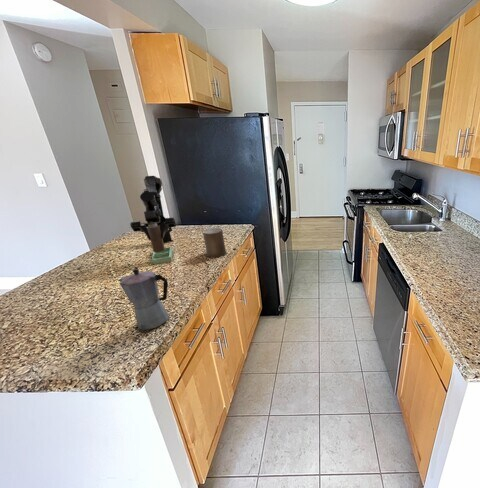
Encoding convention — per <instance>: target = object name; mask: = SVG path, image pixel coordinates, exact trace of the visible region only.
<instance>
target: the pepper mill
mask: <svg viewBox="0 0 480 488" xmlns="http://www.w3.org/2000/svg"><path fill="white" fill-rule="evenodd" d="M148 226H149V227H147V229H148V233H149V237H150V240H149V241H150V244H151V247H152V253H153V252H161V251H164V250H165V247H166V246H165V243H164V242H163V239H162V236H161V230H160V226H158V225H157V223H151V224H148Z"/></svg>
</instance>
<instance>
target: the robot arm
mask: <svg viewBox="0 0 480 488" xmlns="http://www.w3.org/2000/svg"><path fill="white" fill-rule="evenodd" d="M143 182H144V183H143V184H144V186H145V188H144V189H143V190H142V193H141V194H140V196H139V198H140V201H141V202H142V204H143V206H144V207H145V208H144V209H145V211H144V212H143V215H144V220H145V222H141V220H137V221H131V222H130V223H129V225H130V228H131V230H132V231H133V232H141V233H144V234H145V235H146V237H147V239H148V241H150V237H149V233H148V229H147V227H149V226H148V224H151V223H157V225H158V226H160V230H161V236H162V239H163V242H164V244H167V243H171V242H173V241H174V240H173V239H172V236H171V232H173V228H176V227H177V224H176V219H175V217H165V216H164V210H163V204H162V200H161V199H162V198H161V197H162V196H161V192H162V189H163V187H162V186H163V182H162V179H161V178H160V177H157V176H156V175H146V176H144V178H143Z"/></svg>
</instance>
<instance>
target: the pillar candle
mask: <svg viewBox="0 0 480 488" xmlns="http://www.w3.org/2000/svg"><path fill="white" fill-rule="evenodd" d="M202 235H203V241H204V246H205V251H206V255H207V256H208V257H211V258H220V257H223V256H225V255H226V254H227V250H226V245H225V239H224V233H223V229H222V228H221V227H209V228H206V229H204V230H203V231H202Z"/></svg>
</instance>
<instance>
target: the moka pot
mask: <svg viewBox="0 0 480 488" xmlns="http://www.w3.org/2000/svg"><path fill="white" fill-rule="evenodd" d="M132 272H133V273H131V274H129V275H124V276H122V277H120V278H119V279H118V280H117V282H119V285H120V287H121V288H122V290H123V292H124V293H125V295H126V297H127V299H128V300H129V302H130V303H131V304H132V305H133V307H134V308H133V309H134V314H135V319H136V325H137V328H138V329H140V330H142V331H146V330H147V331H148V330H152V329H155V328H158V327H160V326H162V325H163V324H164V323H166V322H167V321H168V319H169V314H168V312H167V310H166V308H165V306H164V305H163V302H162V301H165V300H167V299H168V298H167V297H168V288H169V283H168V282H169V281H168V279H167V278H166V277H165V276H162V275H161V274H160V273H159V274H156V271H152V270H151V271H150V270H144V271H140V270H139V269H138V268H135V269H132ZM158 281H163V285H162V286H163V288H162V291H163V292H162V293H163V294H162V297H160V296H159V285H158Z"/></svg>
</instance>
